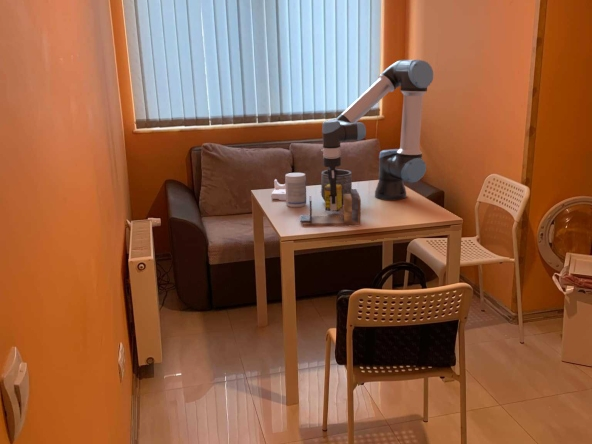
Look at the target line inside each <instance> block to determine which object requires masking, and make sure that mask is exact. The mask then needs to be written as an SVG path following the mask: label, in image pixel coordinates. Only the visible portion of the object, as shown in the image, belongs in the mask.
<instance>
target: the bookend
mask: <svg viewBox="0 0 592 444" xmlns="http://www.w3.org/2000/svg"><path fill="white" fill-rule="evenodd" d="M308 199H309V214H300V219H299V221H300V223H302V222H312V216H313V212H312V211H313V210H312V208H313V206H312V202H313V201H312V195H309V198H308Z"/></svg>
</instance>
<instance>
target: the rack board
mask: <svg viewBox="0 0 592 444" xmlns="http://www.w3.org/2000/svg"><path fill="white" fill-rule="evenodd" d="M361 200H362V199H361V196H360V194H359V192H358V191H357V189H356V188H352V189H350V194H343V205H342V206H343V207H342V209H343V210H342V211H343V214H342V215H312V222H301V223H302V224H301V225H302V227H337V226H338V227H346V226H349V225H359V226H361V213H362V212H361V209H362V207H361V206H362V203H361Z"/></svg>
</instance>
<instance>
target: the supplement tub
mask: <svg viewBox="0 0 592 444" xmlns="http://www.w3.org/2000/svg"><path fill="white" fill-rule="evenodd" d="M306 178H307V177H306V173H303V172H290V173H288V172H287V173H285V177H284V179H285V183H284V184H285V185H286V200H285V202H286V203H285V204H286V206H288V207H291V208H302V207H305V206H306V205H307V179H306Z"/></svg>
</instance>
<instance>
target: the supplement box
mask: <svg viewBox="0 0 592 444" xmlns="http://www.w3.org/2000/svg"><path fill="white" fill-rule="evenodd" d="M336 194H337V196H336V199H337V211H335V212H337V213H338V212H339V211H340V210H341V209H343V207H342V206H343V205H342V193H341V185H336ZM329 195H330V184H328V185H327V186H326V187H325V201H324V210H325V212H327V211H328V212H332V211H331V210H330V197H329Z"/></svg>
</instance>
